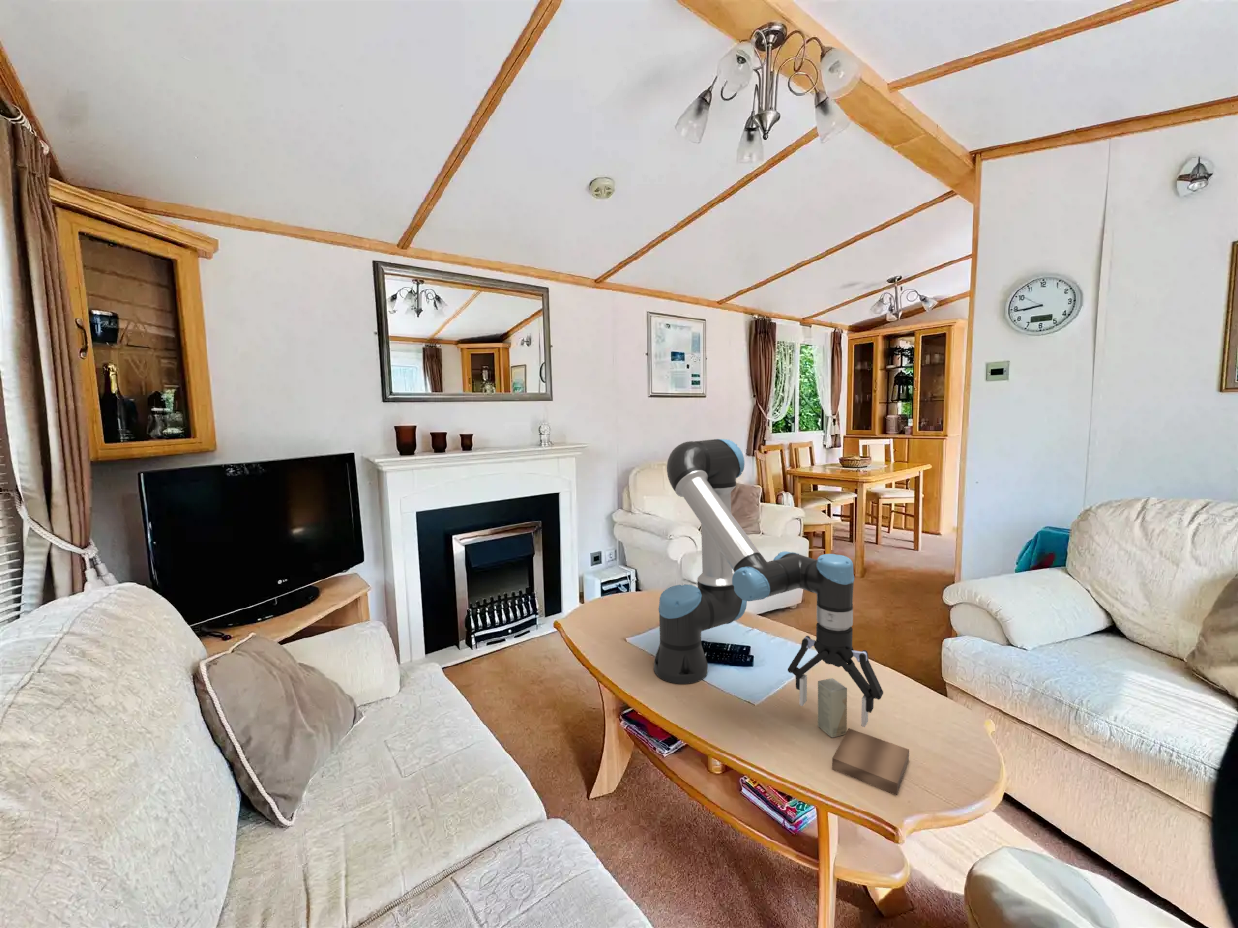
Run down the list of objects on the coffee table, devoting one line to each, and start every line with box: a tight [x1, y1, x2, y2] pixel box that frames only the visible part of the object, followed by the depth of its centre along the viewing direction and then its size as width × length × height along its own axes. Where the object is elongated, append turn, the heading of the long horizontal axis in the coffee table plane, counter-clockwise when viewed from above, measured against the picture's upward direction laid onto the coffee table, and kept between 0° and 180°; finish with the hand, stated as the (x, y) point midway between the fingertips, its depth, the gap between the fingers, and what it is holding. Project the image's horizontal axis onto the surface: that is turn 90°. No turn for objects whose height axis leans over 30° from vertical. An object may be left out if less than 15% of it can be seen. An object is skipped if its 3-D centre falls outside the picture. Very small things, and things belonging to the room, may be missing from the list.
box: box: [817, 677, 848, 738], centre depth 119 cm, size 5×4×11 cm
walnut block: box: [831, 727, 910, 796], centre depth 108 cm, size 12×12×3 cm
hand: (832, 713), depth 119 cm, fingers open, 13 cm apart
